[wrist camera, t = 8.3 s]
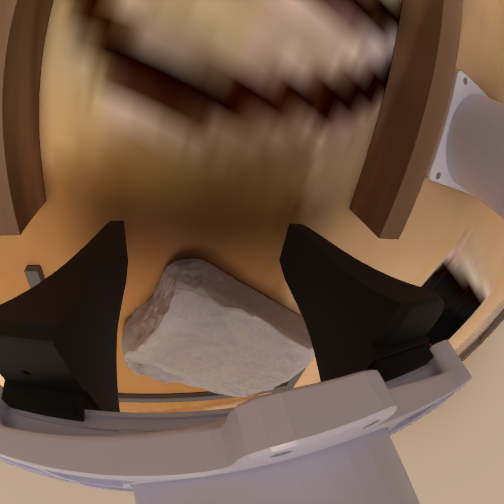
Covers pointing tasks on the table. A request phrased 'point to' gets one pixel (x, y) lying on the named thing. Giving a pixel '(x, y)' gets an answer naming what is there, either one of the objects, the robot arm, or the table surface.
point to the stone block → (214, 333)
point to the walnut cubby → (380, 152)
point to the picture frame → (481, 332)
